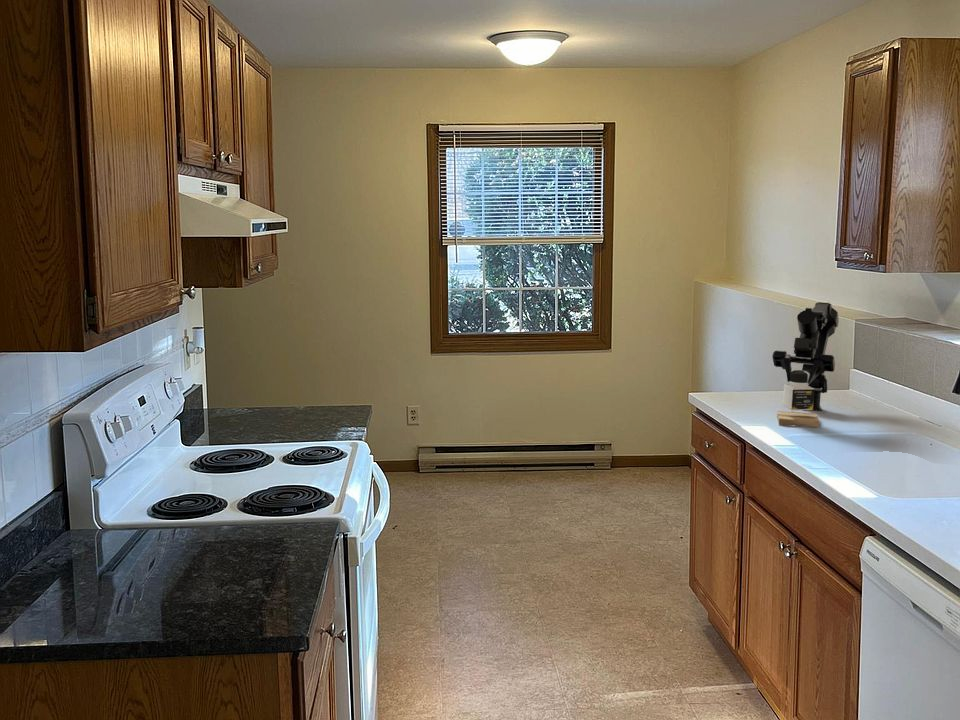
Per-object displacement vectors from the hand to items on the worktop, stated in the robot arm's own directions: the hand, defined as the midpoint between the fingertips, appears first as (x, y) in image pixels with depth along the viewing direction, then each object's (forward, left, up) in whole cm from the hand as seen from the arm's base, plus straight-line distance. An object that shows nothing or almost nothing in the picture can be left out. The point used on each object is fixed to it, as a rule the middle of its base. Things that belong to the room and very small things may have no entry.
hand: (798, 382), depth 303 cm
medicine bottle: (-1, 0, -9) cm, 9 cm away
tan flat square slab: (-1, +1, -13) cm, 13 cm away
